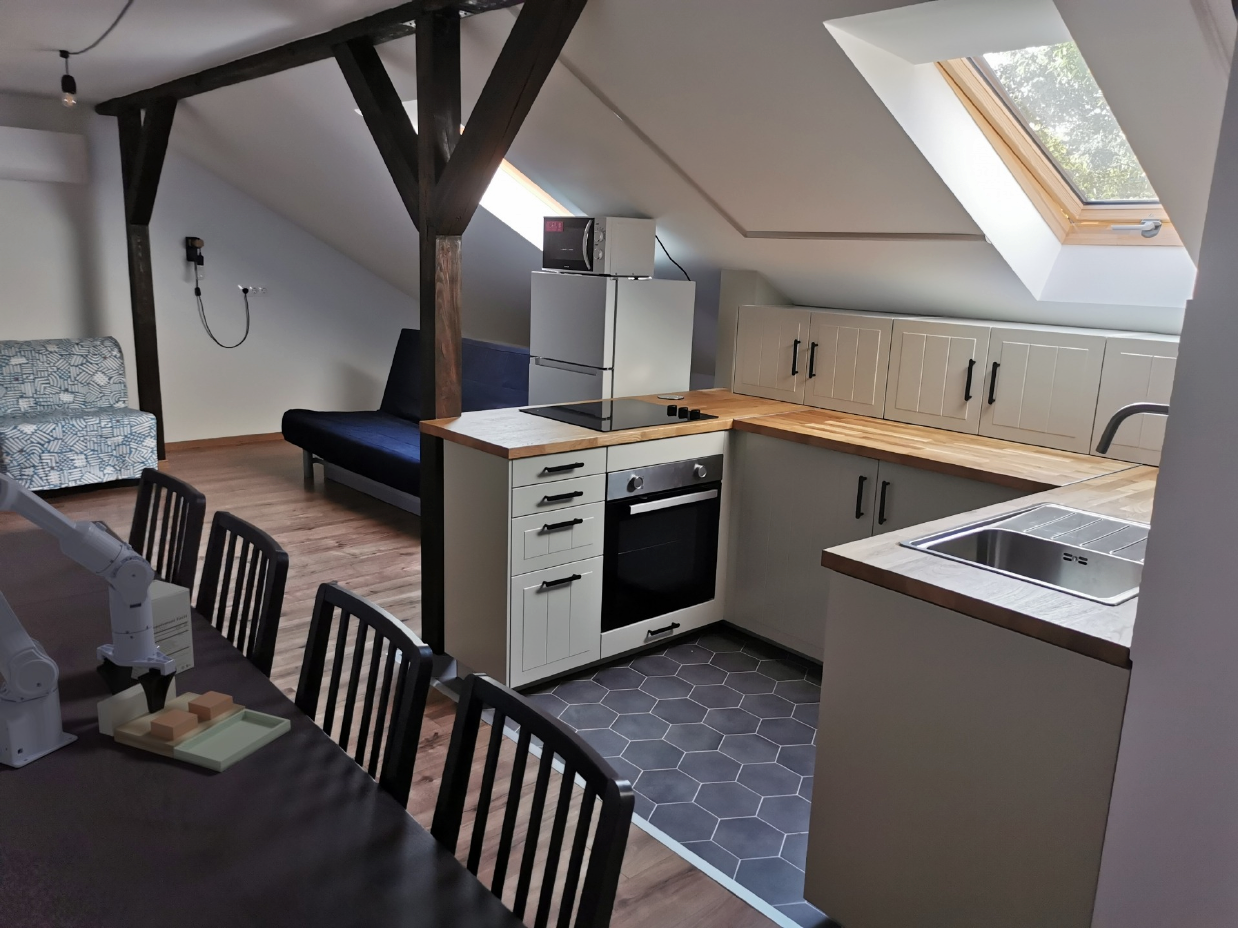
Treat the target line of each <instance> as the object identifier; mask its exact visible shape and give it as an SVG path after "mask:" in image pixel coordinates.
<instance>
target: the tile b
mask: <svg viewBox="0 0 1238 928" xmlns="http://www.w3.org/2000/svg"><path fill="white" fill-rule="evenodd" d="M200 695H201V696H199V697H197V698H195V699H193V700H191V701H189V702H188V709H189V713H192V714H196V715H197V716H198V717H201V718H205V719H209V720H212V719H214V718H216V717H217V716H219V715H221V714H223V713H225V712H227V711H228V710H230V709H232V708H233V703H234V701H233V695H229V694H225V693H221V692H217V691H215V690H214V691H213V690H210V691H208V692H205V693H204V694H200Z"/></svg>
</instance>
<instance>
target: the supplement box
mask: <svg viewBox="0 0 1238 928" xmlns="http://www.w3.org/2000/svg"><path fill="white" fill-rule="evenodd" d="M149 591H150V597H151V606H152V617H153V629H154V640H155V644H156V645H159V646H160V650H159V651H160V652H161V653H163V654H164V655H166V656H167V657H169V658H172V659H175V667H176V670H177V672H176V674H175V675H178V674H179V673H182V672H184V671H185V672H186V671H187V670H189V669H192V668H194V667H195V664H194V647H193V630H192V616H191V615H192V614H191V599H190V588H188V587H184V586H182V585H181V586H180V585H177V584H174V583H170V582H165V581H161V580H159V579H153V581H152V583H151V584H150V586H149ZM147 672H149V669H146V668H142V667H136V666H133V669H132V676H131V679H134V680H136V681H138V679H137V677H138V676H140V675H143V674H145V673H147ZM175 675H174V676H175Z"/></svg>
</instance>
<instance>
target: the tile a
mask: <svg viewBox="0 0 1238 928" xmlns="http://www.w3.org/2000/svg"><path fill="white" fill-rule="evenodd" d="M150 724H151V734H154V735H157V736H161V737H164V738H168V739H172V740H175V739H177V738H179V737H181V736H182V735H184V734H186V733H188V732H190V731H192V730H193V729H195V728H197V727H198V719H197V715H196V714H192V713H189V712H185V711H181V710H177V709H174V710H172V711H170V712H168V713H166V714H164V715H162V716H160V717H158V718H156V719H154V720H152V721H150Z"/></svg>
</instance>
